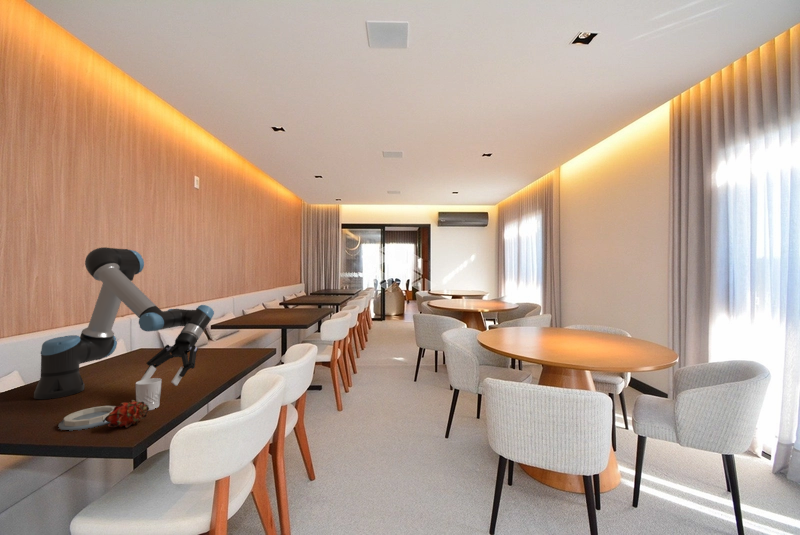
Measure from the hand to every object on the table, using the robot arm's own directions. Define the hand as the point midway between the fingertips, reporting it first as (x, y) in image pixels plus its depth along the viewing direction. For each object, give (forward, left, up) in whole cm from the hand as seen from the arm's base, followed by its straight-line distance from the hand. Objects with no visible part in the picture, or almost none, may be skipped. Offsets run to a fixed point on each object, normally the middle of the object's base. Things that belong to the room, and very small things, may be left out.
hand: (158, 383), depth 131 cm
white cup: (-1, -3, -9) cm, 9 cm away
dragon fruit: (+6, -17, -9) cm, 20 cm away
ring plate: (-10, -16, -8) cm, 21 cm away
